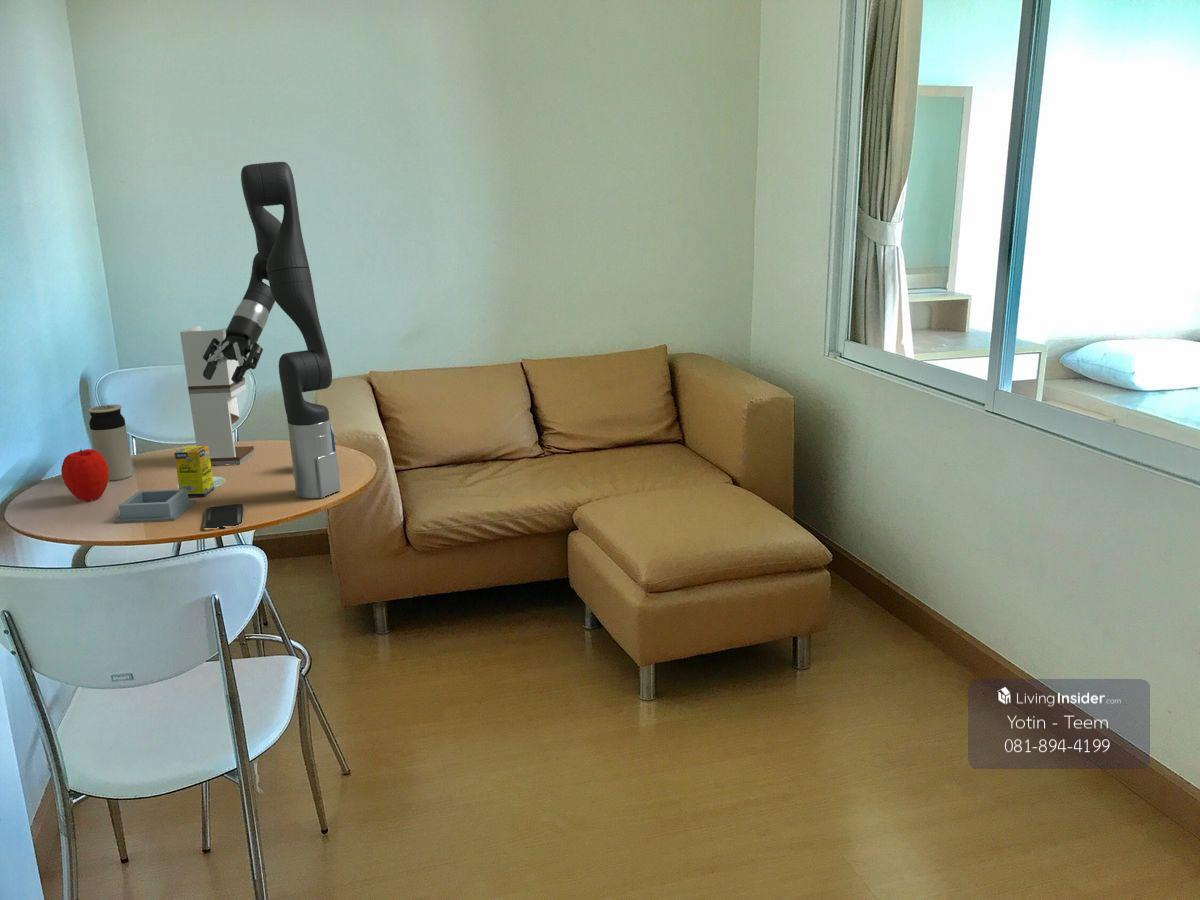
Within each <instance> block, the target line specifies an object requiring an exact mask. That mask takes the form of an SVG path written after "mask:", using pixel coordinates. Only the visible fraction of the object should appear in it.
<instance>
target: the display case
mask: <svg viewBox="0 0 1200 900" xmlns="http://www.w3.org/2000/svg"><path fill="white" fill-rule="evenodd" d="M226 329H227V327H224V328H219V329H211V330H202V326H201V325H196V326H193V327H190V328H188V329H185V330H183V331H180V333H179V334H180V341H181V342H180V343H181V348H182V354H183V363H184V369H185V376H186V383H187V384H186V385H187V391H188V397H189V405H190V411H191V416H192V425H193V432H194V439H195V446H209V454H210V461H211V465H221V466H227V465H226V464H240V463H241V462H243V461H244V460H245V459H246V458H248V456H250V455H251V454H252V453H253V452H254V453H255V448H254V445H251V446H250V445H249V446H247V445H246V446H243V445H242V446H235V440H234V434H233V433H234V431H233V425H234V424H235V423H237V422H238V421H239V420H240V413H239V406H238V399H237V395H239V394H240V393H242V392H244V391H245V390H247V387H246V386H247V384H246V379H245V375H244V376H243V378H242V380H241V381H240V382H239V384H236V383H234V382H233V381H232V380H231V378H232V376H233V374H234V372H235V370H236V367H237V366H239V363H238V361H236V360H227V361H226V362H222V363H220V364H219V365H218V366H216V367H217V368H216V370H215V372H214V374H213V376H212V378H211V380H207V379H206V378H205V377H204V376H203V372H204V370H205V368H206V366H207V363H208V362H207V361H206V360H204V359H203V356H204V354H205V352H206V350H207V348H208V347H209V345H210V343H211V341H212V339H214V338H216V339H217V340H218V341H223V340H224V339H225V338H226ZM220 355H221V356H224V355H223V353H221V354H220ZM210 356H211V353H210V355H209V357H210ZM217 359H219V358H216V359H215V360H214V361H216V360H217ZM248 459H249V458H248ZM244 462H245V461H244ZM244 462H243V463H244Z"/></svg>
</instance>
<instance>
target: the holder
mask: <svg viewBox="0 0 1200 900" xmlns="http://www.w3.org/2000/svg"><path fill="white" fill-rule="evenodd" d="M195 504H196V499H190V498H189V497H188V492H187V489H179V488H177V489H175V488H174V489H152V490H151V489H150V490H138V491H136V492H135V493H134V494H133V495H132V496H129V497H128V498H127V499H125V500H124V501H123V502H122V503H120V504H118V507H117V508H118V512H119V515H118V517H116V518H115V519H113V521H112V522H113V524H126V523H127V524H131V523H150V522H149V521H156V522H173V521H176V520H177V519H178V518H179V517H181V516H182V515H183V514H184V513H185V512H186V511H188V510H189V509H190V508H191V507H193V505H195Z"/></svg>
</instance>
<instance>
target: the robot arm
mask: <svg viewBox="0 0 1200 900" xmlns="http://www.w3.org/2000/svg"><path fill="white" fill-rule="evenodd" d="M240 181H241V188H242V193H243V197H244V201H245V204H246V208H247V211H248V214H249V218H250V220H251V221H250V222H251V223H252V226H253V228H254V234H255V240H256V241H255V242H256V249H257V252H256V254H255V255H254V257H253V259H252V260H253V261H252V265H251V266H252V267H251V274H250V280H249V283H248V287H247V290H246V291H245V293H244V295H243V298H242V299H241V302H240V303H239V304H238V306H237V308H236V309H235V311H234V314H233V315H232V317H231V319H230V322H229V323H228V326H227V327H226V328H227V329H226V338H225V339H224V340H223V341H218V340H217V339H216V338H214V339H212V341H211V343H210V345H209V347H208V348H207V350H206V352H205V354H204V356H203V359H204V360H206V361H207V362H208V363H207V366H206V368H205V370H204V372H203V376H204V377H205V378H206V379H207V380H211V378H212V376H213V374H214V372H215V370H216V368H217V367H216V366H218V365H219V364H220V363H222V362H226V361H227V360H236V361H238V363H239V366H237V367H236V370H235V372H234V374H233V376H232V378H231V380H232V381H233V382H234V383H236V384H239V382H240V381H241V380H242V378H243V376H244V377H245V374H246V372H247V371H249V370H255V369H256V368H257V367H258V366H257V365H258V364H259V360H260V359H261V355H262V353H263V351H264V348H262V346H261V345H260V344H258V342H259V338H260V337H261V334H262V333H263V331H264V328H265V326H266V324H267V321H268V318H269V315H270V312H271V311H272V309H273V307H274V304H275V303H276V304H277V305H278V306H279V308H280V309H281V310H282V311H283V312H284V313H285V314H286V316H288V317H289V318H290V319H291V321H292V322H293V323H294V325H296V327H297V328H298V330H299V331H300V333H301V335H302V336H303V337H302V338H303V339H304V342H305V345H306V348H307V350H297V351H291V352H285V353H283V354H281V356H280V357H279V360H278V374H279V380H280V386H281V393H282V395H283V396H282V397H283V405H284V409H285V410H284V411H285V414H286V420H287V428H288V429H287V430H288V435H289V437H288V438H289V446H290V452H291V453H290V454H291V463H292V471H293V478H294V487H295V489H294V490H295V495H296V497H298V498H300V499H324V498H326V497H325V496H327V495H329V494H331V493H333V492H336V491H338V490H340V491H341V484H340V475H339V466H338V465H339V463H338V456H337V452H333V448H332V439H331V429H330V424H331V422H330V412H329V408H328V407H327V406H325V405H322V404H318V403H313V402H308V401H307V400H305V399H304V395H303V393H309V392H314V391H321V390H325V389H328V388H330V386H331V385H332V382H333V371H332V370H333V369H332V364H331V360H330V355H329V352H328V348H327V345H326V342H325V341H326V340H325V337H324V334H323V330H322V326H321V323H320V318H319V313H318V309H317V303H316V297H315V290H314V286H313V285H314V284H313V279H312V273H311V269H310V265H309V260H308V256H307V252H306V247H305V242H304V239H303V232H302V227H301V221H300V213H299V212H300V211H299V207H298V198H297V191H296V186H295V185H296V184H295V179H294V175H293V171H292V169H291V166H290V165H289V163H288V162H286V161H273V162H259V163H252V164H246V165H244V166H243V167H242V168H241V172H240ZM278 205H279V206H281V205H282V206H283V215H282V216H283V217H282V221H280V220H279V219H278V218H277V217H276V216H274V215H273V214H272V213H270V211H268V210H267V209H266V208H265V207H271V206H278ZM263 280H266V281H268V284H267V283H265V282H264V281H263ZM210 353H211V356H210V357H209V355H210ZM221 353H223V355H224V356H221V355H220V354H221ZM216 358H219V359H217V360H216V361H214V360H215V359H216ZM329 496H330V495H329ZM323 497H324V498H323ZM327 497H328V496H327Z"/></svg>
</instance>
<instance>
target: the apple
mask: <svg viewBox="0 0 1200 900" xmlns="http://www.w3.org/2000/svg"><path fill="white" fill-rule="evenodd" d="M60 471H61V473H60V474H61V478H62V481H63V483H64V485H65V487H66V488H67V490H68V491H69V493H71V494H72V495H73V496H74V497H75V498H77V499H78V500H81V501H84V502H92V501H91V500H93V501H96V500H98V499H100V498H101V497H102V496H103V495H104V493H105V492H106V489H107V487H108V483H109V481H108V480H109V469H108V465H107V463H106V461H105V459H104V457H103V456H102V455H101V454H100V453H99V452H98V451H95V450H94V449H93V448H92V449H90V448H86V449H83V450H82V448H80V449H79V451H74V452H71V453H69V454H67V455H66V456H65V457H64V458H63V461H62V464H61V470H60Z"/></svg>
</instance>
